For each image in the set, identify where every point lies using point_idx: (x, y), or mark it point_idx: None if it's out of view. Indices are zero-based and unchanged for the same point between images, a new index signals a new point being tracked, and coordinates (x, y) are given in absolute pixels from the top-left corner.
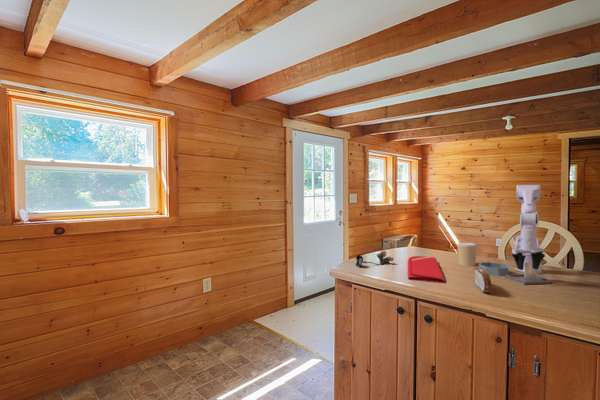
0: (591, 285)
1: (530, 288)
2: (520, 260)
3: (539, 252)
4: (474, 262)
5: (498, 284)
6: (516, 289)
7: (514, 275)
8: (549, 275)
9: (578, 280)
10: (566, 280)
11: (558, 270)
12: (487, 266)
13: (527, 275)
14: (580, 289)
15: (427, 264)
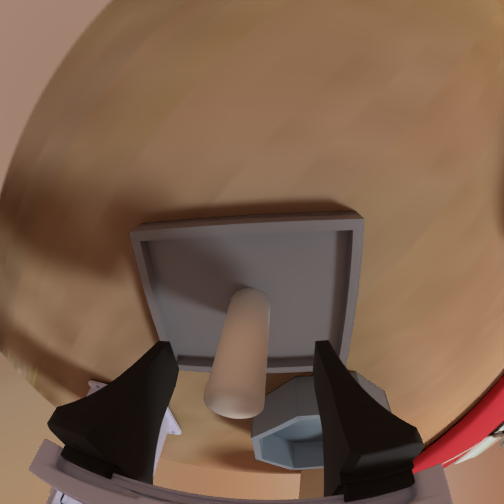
0: (3, 202)
1: (373, 142)
2: (378, 406)
3: (84, 466)
4: (319, 472)
5: (475, 246)
6: (462, 146)
7: (287, 363)
8: (78, 351)
9: (14, 273)
10: (45, 280)
11: (41, 376)
12: (306, 451)
13: (263, 312)
14: (64, 125)
15: (492, 418)
